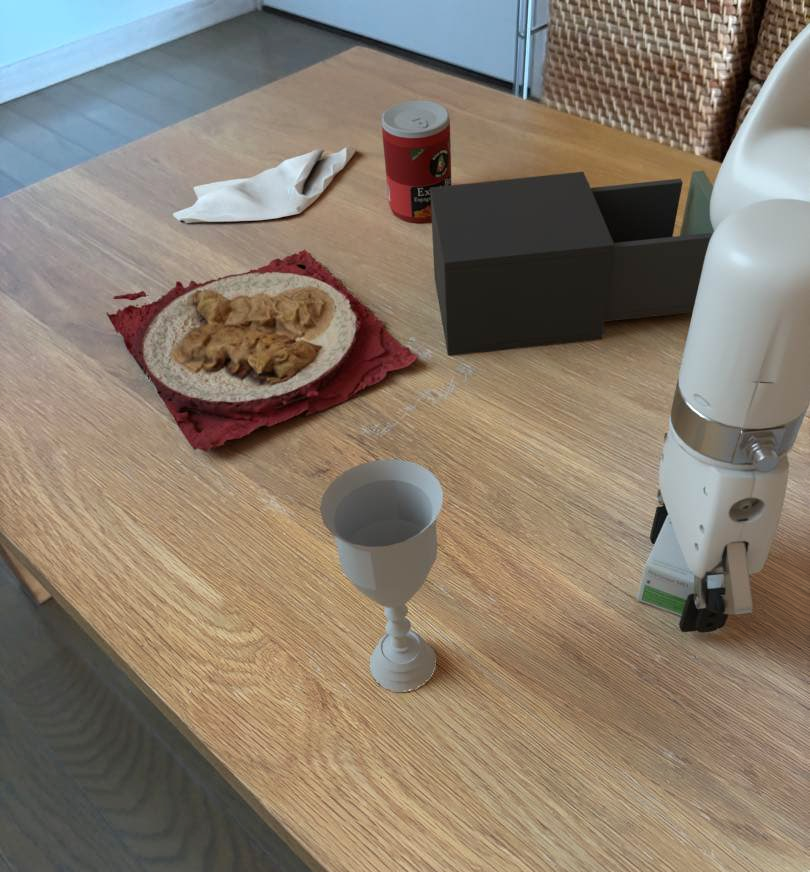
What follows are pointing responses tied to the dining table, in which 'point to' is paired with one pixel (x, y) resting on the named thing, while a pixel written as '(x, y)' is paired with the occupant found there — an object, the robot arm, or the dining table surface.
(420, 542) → the chalice
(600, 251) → the cabinet
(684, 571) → the small box
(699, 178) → the drawer
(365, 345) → the plate with food
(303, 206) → the cloth
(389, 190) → the canned food
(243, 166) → the dining table surface
